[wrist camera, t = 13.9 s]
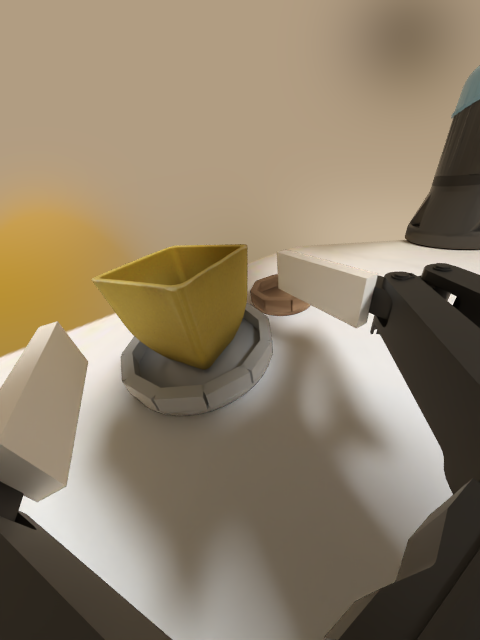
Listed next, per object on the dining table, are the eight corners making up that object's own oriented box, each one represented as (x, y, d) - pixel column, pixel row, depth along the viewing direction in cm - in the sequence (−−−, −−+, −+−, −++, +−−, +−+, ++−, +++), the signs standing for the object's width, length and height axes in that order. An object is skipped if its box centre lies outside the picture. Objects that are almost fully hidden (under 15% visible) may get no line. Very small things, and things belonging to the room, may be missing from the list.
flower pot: (195, 317, 26) (172, 243, 21) (259, 329, 22) (249, 242, 17) (138, 366, 20) (87, 278, 15) (213, 396, 16) (177, 289, 11)
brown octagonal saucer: (286, 283, 32) (286, 270, 31) (325, 300, 26) (327, 285, 25) (243, 299, 29) (241, 286, 28) (276, 323, 23) (275, 307, 22)
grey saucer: (232, 303, 29) (230, 289, 28) (303, 361, 18) (304, 343, 17) (127, 343, 24) (119, 329, 23) (139, 454, 14) (124, 438, 12)
